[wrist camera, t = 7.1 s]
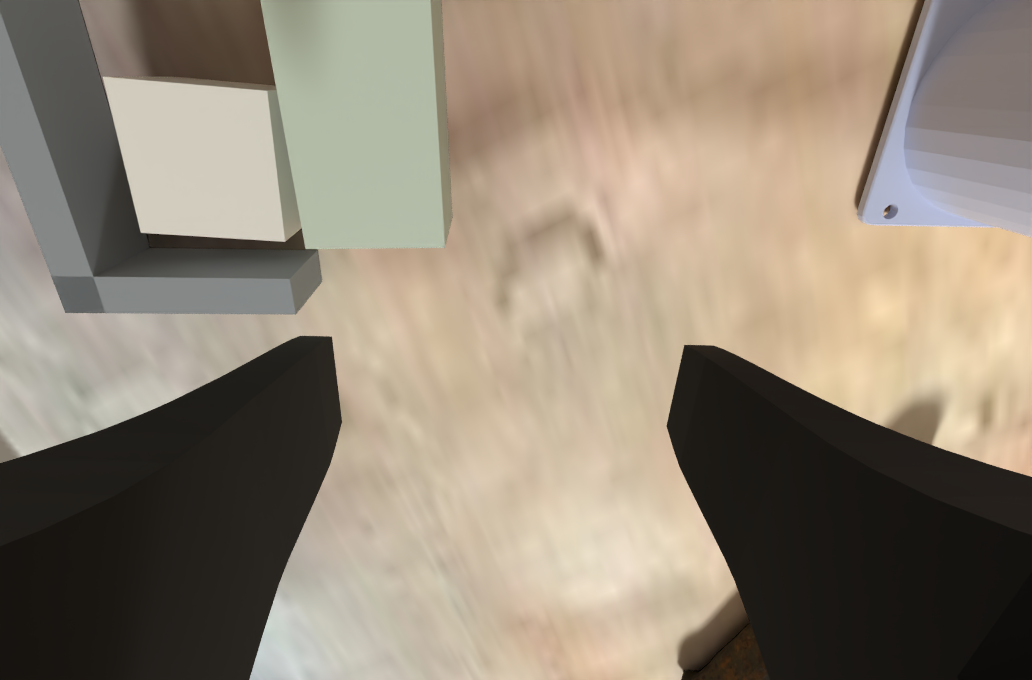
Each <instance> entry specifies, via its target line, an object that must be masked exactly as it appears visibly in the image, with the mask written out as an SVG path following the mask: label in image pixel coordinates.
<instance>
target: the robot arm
mask: <svg viewBox="0 0 1032 680" xmlns="http://www.w3.org/2000/svg"><path fill="white" fill-rule="evenodd" d="M889 205H890V206H891V207H890V211H889V212H888V214H886V215H885V216H883V212H884V210H885V208H886V207H888V206H889ZM857 216H858V219H859V220H860V221H861V222H863V223H866V224H869V225H891V226H946V227H997V228H1001V229H1004V230H1008V231H1011V232H1015V233H1018V234H1021V235H1025V236H1028V237H1032V0H925V2H924V5H923V8H922V11H921V14H920V17H919V21H918V24H917V27H916V30H915V33H914V36H913V39H912V42H911V45H910V48H909V52H908V55H907V58H906V61H905V64H904V67H903V70H902V73H901V76H900V80H899V83H898V86H897V89H896V92H895V95H894V98H893V101H892V104H891V107H890V111H889V114H888V117H887V120H886V123H885V126H884V129H883V132H882V135H881V138H880V142H879V145H878V148H877V151H876V154H875V157H874V160H873V163H872V166H871V169H870V173H869V176H868V179H867V182H866V185H865V188H864V191H863V194H862V197H861V201H860V204H859V207H858V211H857ZM341 423H342V418H341V410H340V402H339V393H338V385H337V376H336V368H335V360H334V351H333V343H332V337H324V336H299V337H297V338H294V339H292V340H289V341H287V342H285V343H283V344H281V345H279V346H277V347H275V348H274V349H272V350H270V351H268V352H266V353H264V354H262V355H261V356H259V357H257V358H255V359H253V360H251V361H250V362H248V363H246V364H244V365H242V366H240V367H238V368H237V369H235V370H233V371H231V372H229V373H227V374H226V375H224V376H222V377H220V378H218V379H216V380H214V381H212V382H210V383H208V384H206V385H204V386H202V387H200V388H197V389H195V390H193V391H191V392H189V393H187V394H185V395H183V396H181V397H179V398H177V399H175V400H173V401H171V402H169V403H167V404H164V405H162V406H160V407H158V408H155V409H153V410H151V411H148V412H146V413H144V414H141V415H139V416H136V417H134V418H131V419H129V420H126V421H124V422H121V423H119V424H116V425H114V426H111V427H109V428H106V429H103V430H101V431H98V432H95V433H92V434H89V435H86V436H83V437H80V438H77V439H74V440H71V441H68V442H65V443H62V444H59V445H56V446H53V447H50V448H47V449H44V450H41V451H38V452H35V453H32V454H29V455H26V456H23V457H20V458H16V459H13V460H10V461H7V462H3V463H0V680H249V678H250V675H251V672H252V668H253V665H254V662H255V658H256V655H257V652H258V648H259V645H260V641H261V638H262V635H263V632H264V629H265V626H266V622H267V619H268V616H269V613H270V610H271V607H272V604H273V601H274V597H275V594H276V591H277V588H278V585H279V582H280V580H281V577H282V574H283V572H284V569H285V567H286V564H287V562H288V559H289V557H290V555H291V552H292V550H293V548H294V546H295V543H296V541H297V539H298V537H299V534H300V532H301V530H302V528H303V525H304V523H305V521H306V519H307V516H308V514H309V512H310V510H311V507H312V505H313V503H314V501H315V498H316V496H317V494H318V491H319V489H320V487H321V485H322V482H323V480H324V478H325V475H326V473H327V471H328V468H329V466H330V463H331V460H332V457H333V453H334V450H335V446H336V442H337V439H338V435H339V431H340V427H341ZM667 429H668V432H669V435H670V439H671V442H672V445H673V449H674V452H675V455H676V458H677V461H678V464H679V466H680V468H681V471H682V473H683V475H684V477H685V479H686V481H687V483H688V485H689V487H690V489H691V491H692V493H693V496H694V498H695V500H696V502H697V504H698V506H699V508H700V510H701V512H702V514H703V516H704V518H705V520H706V522H707V524H708V526H709V528H710V530H711V532H712V534H713V536H714V538H715V540H716V542H717V544H718V546H719V548H720V550H721V552H722V554H723V556H724V558H725V560H726V562H727V565H728V567H729V569H730V571H731V574H732V576H733V578H734V580H735V583H736V586H737V588H738V591H739V594H740V596H741V599H742V602H743V604H744V607H745V610H746V613H747V615H748V618H749V621H750V623H751V626H752V629H753V632H754V635H755V637H756V640H757V643H758V646H759V649H760V652H761V655H762V658H763V661H764V664H765V667H766V670H767V673H768V676H769V679H770V680H1032V477H1030V476H1026V475H1023V474H1020V473H1016V472H1013V471H1009V470H1006V469H1002V468H999V467H996V466H993V465H989V464H986V463H983V462H980V461H977V460H974V459H971V458H968V457H965V456H962V455H959V454H956V453H953V452H949V451H946V450H944V449H941V448H938V447H935V446H932V445H930V444H927V443H924V442H921V441H918V440H916V439H913V438H911V437H908V436H906V435H903V434H901V433H898V432H896V431H893V430H891V429H888V428H885V427H883V426H880V425H878V424H875V423H873V422H871V421H868V420H866V419H864V418H861V417H859V416H857V415H855V414H853V413H850V412H848V411H846V410H844V409H842V408H840V407H838V406H835V405H833V404H831V403H829V402H827V401H825V400H823V399H821V398H819V397H817V396H815V395H813V394H811V393H809V392H807V391H805V390H803V389H801V388H799V387H797V386H795V385H793V384H791V383H789V382H787V381H785V380H783V379H781V378H779V377H778V376H776V375H774V374H772V373H770V372H768V371H766V370H764V369H762V368H760V367H758V366H757V365H755V364H753V363H751V362H749V361H747V360H745V359H743V358H741V357H739V356H737V355H735V354H733V353H730V352H728V351H726V350H724V349H721V348H718V347H716V346H706V345H684V349H683V354H682V359H681V363H680V368H679V372H678V377H677V381H676V386H675V390H674V395H673V399H672V404H671V408H670V413H669V418H668V422H667Z"/></svg>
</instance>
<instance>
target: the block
mask: <svg viewBox="0 0 1032 680" xmlns="http://www.w3.org/2000/svg"><path fill="white" fill-rule="evenodd" d="M103 79H104V84H105V88H106V92H107V96H108V100H109V104H110V108H111V112H112V116H113V121H114V125H115V129H116V133H117V137H118V141H119V145H120V149H121V153H122V157H123V162H124V166H125V170H126V174H127V178H128V182H129V186H130V190H131V194H132V198H133V203H134V207H135V211H136V215H137V219H138V223H139V227H140V231H141V233H152V234H168V235H184V236H200V237H217V238H233V239H249V240H265V241H281V242H286V241H287V240H288V239H289V238H290V237H292V236H293V235H294V234H295V233H296V232H298V231H299V230H300V229H301V228H302V227H301V221H300V216H299V210H298V205H297V199H296V194H295V188H294V183H293V177H292V172H291V166H290V161H289V155H288V150H287V144H286V139H285V133H284V128H283V122H282V117H281V111H280V106H279V100H278V95H277V89H276V85H265V84H253V83H242V82H230V81H219V80H207V79H195V78H184V77H103Z"/></svg>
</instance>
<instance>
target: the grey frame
mask: <svg viewBox="0 0 1032 680" xmlns="http://www.w3.org/2000/svg"><path fill="white" fill-rule="evenodd" d="M0 145H1V148H2V151H3V153H4V156H5V158H6V161H7V163H8V166H9V169H10V171H11V174H12V176H13V179H14V181H15V184H16V187H17V189H18V192H19V194H20V197H21V200H22V202H23V205H24V207H25V210H26V212H27V215H28V218H29V220H30V223H31V225H32V228H33V230H34V233H35V236H36V238H37V241H38V243H39V246H40V248H41V251H42V254H43V256H44V259H45V261H46V264H47V266H48V269H49V272H50V274H51V277H52V279H53V282H54V284H55V287H56V290H57V292H58V295H59V297H60V300H61V303H62V305H63V308H64V310H65V313H164V314H297V312H298V311H299V310H300V309H301V307H302V306H303V305H304V304H305V302H306V301H307V300H308V299H309V297H310V296H311V295H312V294H313V292H314V291H315V290H316V289H317V287H318V286H319V285H320V284H321V282H322V278H321V271H320V264H319V257H318V250H269V249H198V248H150V246H149V243H148V239H147V236H146V233H141V231H140V227H139V223H138V219H137V215H136V211H135V207H134V203H133V198H132V194H131V190H130V186H129V182H128V178H127V174H126V170H125V166H124V162H123V157H122V153H121V149H120V145H119V141H118V137H117V133H116V129H115V126H114V122H113V119H112V116H111V112H110V109H109V105H108V102H107V98H106V95H105V92H104V88H103V85H102V81H101V78H100V74H99V71H98V68H97V64H96V61H95V57H94V54H93V50H92V47H91V44H90V40H89V37H88V33H87V30H86V26H85V23H84V20H83V16H82V13H81V9H80V6H79V2H78V0H0Z"/></svg>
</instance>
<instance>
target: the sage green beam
mask: <svg viewBox="0 0 1032 680" xmlns="http://www.w3.org/2000/svg"><path fill="white" fill-rule="evenodd" d="M260 1H261V7H262V12H263V18H264V23H265V29H266V34H267V40H268V45H269V51H270V56H271V62H272V67H273V73H274V78H275V84H276V89H277V95H278V100H279V106H280V111H281V117H282V122H283V128H284V133H285V139H286V144H287V150H288V155H289V161H290V166H291V172H292V177H293V183H294V188H295V194H296V199H297V205H298V210H299V216H300V221H301V227H302V232H303V238H304V243H305V249H362V248H445V245H446V241H447V237H448V233H449V229H450V225H451V221H452V197H451V178H450V158H449V138H448V118H447V98H446V79H445V59H444V39H443V19H442V0H260Z"/></svg>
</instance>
